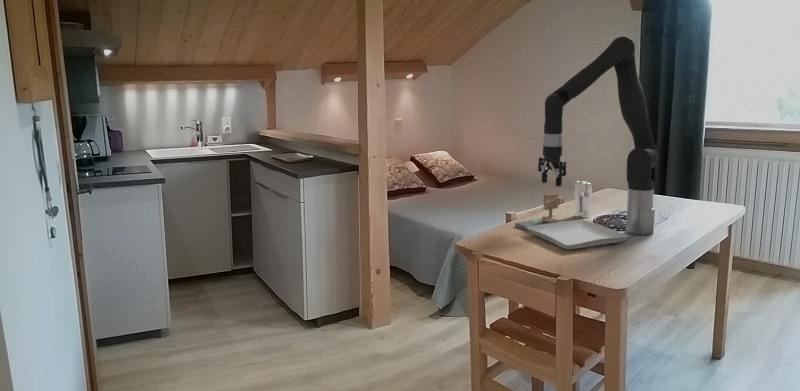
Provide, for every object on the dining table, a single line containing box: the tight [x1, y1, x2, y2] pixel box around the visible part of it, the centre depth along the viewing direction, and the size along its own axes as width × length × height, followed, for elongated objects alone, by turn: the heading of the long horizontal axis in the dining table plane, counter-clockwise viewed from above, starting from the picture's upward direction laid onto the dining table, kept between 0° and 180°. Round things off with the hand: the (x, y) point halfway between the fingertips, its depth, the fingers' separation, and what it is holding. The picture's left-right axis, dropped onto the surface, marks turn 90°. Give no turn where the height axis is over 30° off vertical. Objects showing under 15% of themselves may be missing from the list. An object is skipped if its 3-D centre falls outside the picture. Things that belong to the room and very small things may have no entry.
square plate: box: [526, 219, 629, 250], centre depth 236 cm, size 27×27×4 cm
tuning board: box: [514, 218, 564, 232], centre depth 255 cm, size 12×18×2 cm
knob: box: [534, 192, 560, 224], centre depth 255 cm, size 6×11×11 cm, turn 117°
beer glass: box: [574, 180, 593, 218], centre depth 270 cm, size 7×7×15 cm
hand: (551, 184), depth 254 cm, fingers open, 8 cm apart
